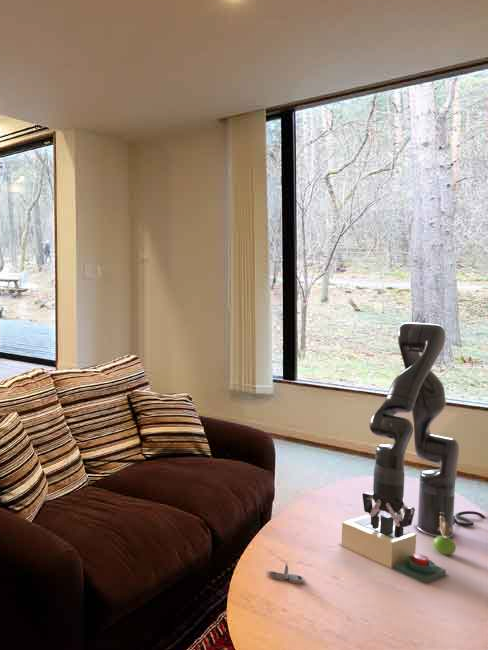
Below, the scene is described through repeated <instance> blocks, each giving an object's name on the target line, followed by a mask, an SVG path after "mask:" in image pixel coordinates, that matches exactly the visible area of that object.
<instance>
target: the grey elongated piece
mask: <svg viewBox="0 0 488 650" xmlns="http://www.w3.org/2000/svg"><path fill="white" fill-rule="evenodd" d="M269 577H270V578H272V579H275V580H279V581H285V580H287V581H289V582H290V583H294V584H304V578H303V576H301V575H299V574H294V573H289V564H288V563H287V562H285V563H284V571H283V573H282V572H281V573H280V572H277V571H276V572H275V571H269Z"/></svg>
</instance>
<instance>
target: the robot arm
mask: <svg viewBox="0 0 488 650" xmlns="http://www.w3.org/2000/svg"><path fill="white" fill-rule="evenodd" d="M446 337H447V336H446V331H445V329H444V327H443V326H442V325H440V324H435V323H422V322H404V323H401V325H400V326H399V328H398V331H397V344H398V348H399V351H400V355H401V359H402V362H403V366H404V371H402V372H401V373H399V374H398V375H397V376H396V377H395V378H394V379H393V381H392V382H391V384H390V387H389V390H388V393H387V395H386V398H385V400H384V401H383V403H381V405H380V407H379V408H378V409H377V410H376V411H375V412H374V414H373V415H372V417H371V418H370V420H369V430H370V433H372V434H373V435H374V436H376V437H381V438H385V439H389V440H394V442H393V443H392V444H389V443H384V444H378V445H377V446H376V448H375V459H374V460H375V461H374V462H375V463H374V468H373V482H372V483H373V485H372V491H373V493H372V492H370V491H365V492H363V493H362V494H361V496H362V503H363V511H364V512H365V513H368V514H369V516H370V517H371V526H372V528H374V529H377V528H378V527H379V520H380V516H379V515H380V513H382V512H386V514H389V515H391V517H392V518H393V523H394V524H395V525H394V526H395V535H394V536H395V537H397V538H399V537H401V536H403V530H404V529H405V528H406V527H409V526H412V523H413V519H414V515H415V511H416V509H415V507H413V506H408V505H406V504H405V502H404V497H405V496H404V494H405V493H404V492H405V491H404V490H405V455H406V451H407V448H408V445H409V443H410V441H411V438H412V436H413V439H414V441H413V442H414V451H415V453H416V457H418V458H419V459H420V460H423V461H425V462H430V463H433V464H437V465H440V467H439V468H438V469H425V470H422V471H420V473H419V484H418V485H419V486H418V508H417V525H416V529H417V530H418V531H419V532H421V533H423V534H426V535H428V536H432V537H435V538H436V537H438V536H442V534H441V531H440V512H444V514H441V516H443V517H444V518H445V520H444V521H446V522H447V523H448V524H449V534H448V537H449V538H450V539H451V538H453V536H454V534H453V533H454V525H458V526H464V527H472V526H474V524H475V523H474V522H473V521H472V520H470V519H467V518H465V517H463V515H476V516H479V517H480V518H482V519H486V517H485V515H484V514H483V513H481V512H478V511H473V510H465V511H460V512H457V513H456V514H455V498H456V497H455V494H456V480H457V475H458V474H457V473H458V464H459V456H460V445H459V442H458V441H457V440H456V439H455V438H452V437H448V436H447V437H446V436H440V435H436V434H432V433H431V431H430V428H431V424H432V423H433V422H434V420H436V418H437V417H438V416H439V415H440V414H441V413H442V412H443V410H444V409H445V408H446V405H447V400H446V392H445V387H444V384H443V382H442V381H441V379H440V378H439V377H438V376H437V375H436V374H435V373H434V372H433V371H432V368H433V366H434V365H435V363H436V361H437V360H438V358H439V356H440V354H441V353H442V350H443V348H444V346H445V343H446ZM420 353H421V354H420ZM406 413H407V414H408V413H412V421H410V419H408V418H405V417H401V416H397V414H406ZM412 422H413V424H412ZM373 501H374V503H375V504H374V506H373ZM402 511H403V512H402ZM454 514H455V515H454ZM456 518H457V519H458V520H461V521H458V520H457V519H456ZM462 521H463V522H462Z"/></svg>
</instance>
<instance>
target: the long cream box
mask: <svg viewBox="0 0 488 650" xmlns="http://www.w3.org/2000/svg"><path fill="white" fill-rule="evenodd" d="M380 522H381V519H379V527H378V528H377V529H374V528H372V526H371V515H367V514H365V515H361V516H358V517H355V518H351V519H347V520H345V521H342V522H341V546H342V547H344V548H347V549H349V550H351V551H353V552H355V553H357V554H359V555H361V556H363V557H366V558H367V559H368V558H369V559H370V560H373V561H375V562H377V563H379V564H381V565H383V566H386V567H389V568H390V569H392V568H395V564H398V563H400V562H403V561H406V557H407V556H410V555H412V556H413V554H416V550H417V549H416V548H417V534H416V533H414V532H410V531H408V530H406V529H403V536H401V537H399V538H397V537H395V536H394V535H395V525H393V534H390V535H385V534H382V533H380Z"/></svg>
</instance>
